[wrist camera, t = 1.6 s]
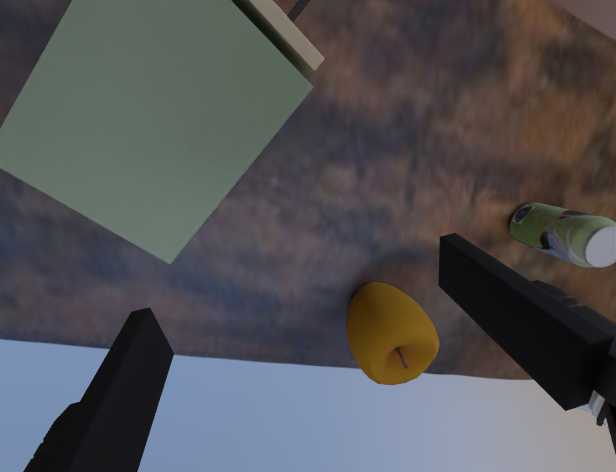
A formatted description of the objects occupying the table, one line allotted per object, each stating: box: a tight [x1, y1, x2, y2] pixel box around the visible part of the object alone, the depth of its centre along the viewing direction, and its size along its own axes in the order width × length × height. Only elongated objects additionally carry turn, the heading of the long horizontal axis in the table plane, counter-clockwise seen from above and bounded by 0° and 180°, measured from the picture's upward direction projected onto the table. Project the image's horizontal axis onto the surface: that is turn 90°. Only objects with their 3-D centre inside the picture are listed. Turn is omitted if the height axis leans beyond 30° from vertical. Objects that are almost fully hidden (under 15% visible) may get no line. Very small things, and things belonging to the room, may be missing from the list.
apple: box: [346, 282, 440, 385], centre depth 39 cm, size 11×11×13 cm
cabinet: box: [0, 0, 313, 264], centre depth 26 cm, size 20×15×10 cm
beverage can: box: [510, 203, 616, 267], centre depth 38 cm, size 6×7×12 cm
